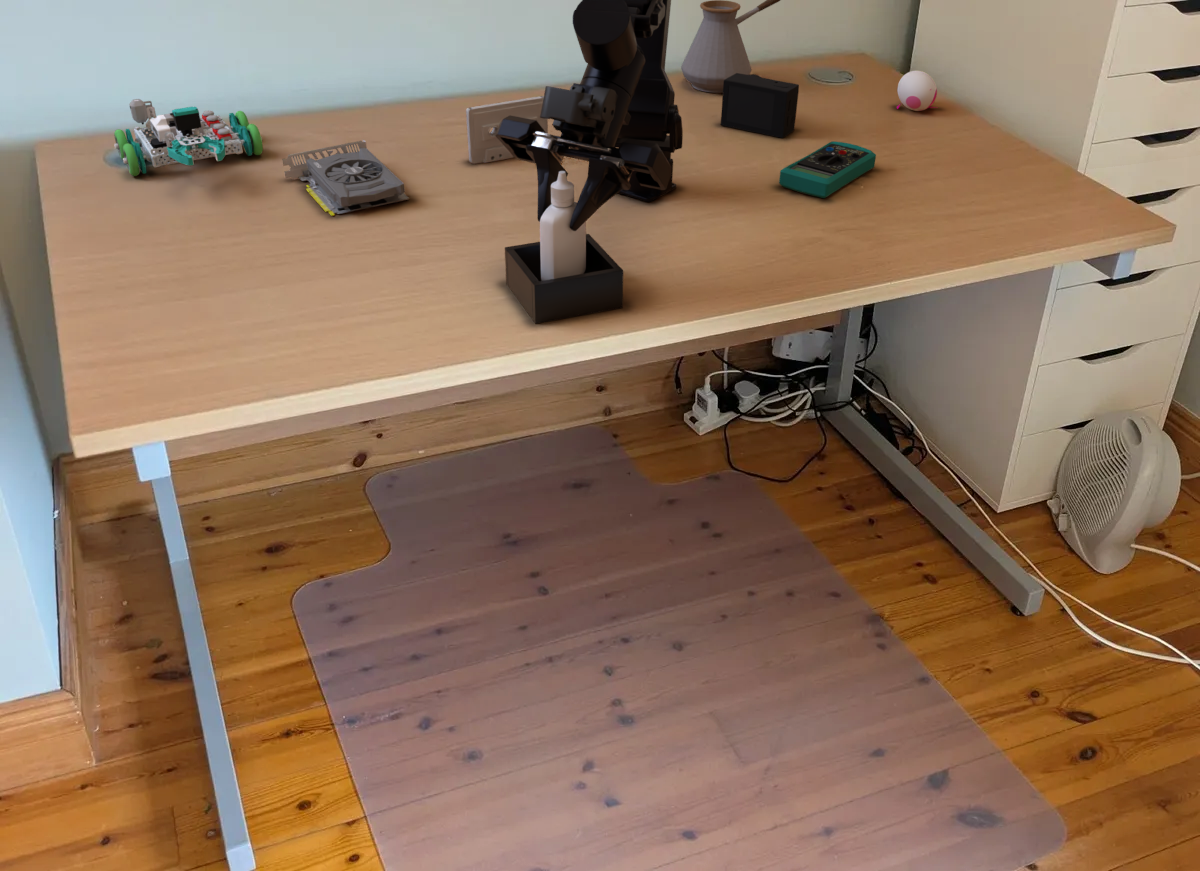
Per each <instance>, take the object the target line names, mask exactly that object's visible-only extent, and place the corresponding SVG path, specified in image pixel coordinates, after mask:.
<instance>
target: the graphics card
mask: <svg viewBox="0 0 1200 871" xmlns="http://www.w3.org/2000/svg"><path fill="white" fill-rule="evenodd" d="M367 147H368V146H367V141H366V140H365V139H362V140H357V141H352V142H346V143H341V144H335V145H331V146H326V147H321V148H317V149H311V150H305V151H301V152H296V153H290V154H288V155H287V157H285V158H282V159H281V161H282V165H283V167H285V166H289V167H290V168H289V170H284V172H283V173H284V178H285V179H290V178H291V179H292V180H300V181H301V182H306V181H307V182H308V183H309V184H306V185H305V186H306V187H307V188H306V189H305V190H306V191H307V192H308V194H309V195H310V196H311V197H312V198H313V200H314V201H315V202H316V203H317V204H318V206H319V207H320V208H322V210H323V211H324V212H325V213H328V214H329V215H330V217H336V214H337V215H341V214H345V213H351V212H354V211H355V212H356V211H360V210H364V209H365V210H366V209H370V208H374V207H379V206H383V205H387V204H393V203H398V202H402V201H406V200H407V201H408V200H410V198H409V196H408V195H407V194H406V193H405V192H406V191H405V190H406V189H405V183H404V182H403V181H402V180H401V179H400V178H399V177H398V176H396V174H395V173H394V172H392V171H391V170H390V168H388V167H387V166H386V165H385V164H384V163H383V162H382V161H381V160H380V159H379V158H378V157H376V155H374V153H372V151H370V150H369V148H367ZM339 149H341V150H342V152H343V153H341V152H340V151H339ZM334 150H336V152H335V154H333V153H334ZM324 152H326V154H327V155H328V156H325V154H324ZM317 153H319V155H320V156H321V158H318V156H317ZM309 155H312V157H313V158H312V157H310V156H309ZM298 159H299V160H298Z"/></svg>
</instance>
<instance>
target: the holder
mask: <svg viewBox="0 0 1200 871" xmlns="http://www.w3.org/2000/svg"><path fill="white" fill-rule="evenodd" d="M504 263H505V264H504V265H505V266H504V267H505V284H506V286H507V287H508V288H509V290H510V291H511V292H512V294H513V295H514V296H515V298H516V299H517V300H518V302H519V303H520V305H521V306H522V307H523V308H524V310H525V311H526V313H527V314H528V315H529V317H530V318H531V319H532V321H533V322H534V324H535V325H537V324H541V323H547V322H553V321H558V320H563V319H570V318H575V317H580V316H585V315H590V314H597V313H601V312H607V311H613V310H619V309H623V307H624V306H623V305H624V303H623V302H624V269H623V268H622V267H621V266H620V265H619V264H618V263H617V262H616V261H615V260H614V259H613V257H611V255H609V253H607V251H606V250H605V249H604V248H603V247H602V246H601V245H600V244H599V243H598V242H597V240H595V238H594V237H593V236H592V235H590V234H589V233H586V270H585V272H584V273H583V274H579V275H573V276H567V277H561V278H556V279H550V280H544V281H542V280H541V257H540V241H535V242H530V243H523V244H517V245H511V246H505V247H504Z"/></svg>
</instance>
